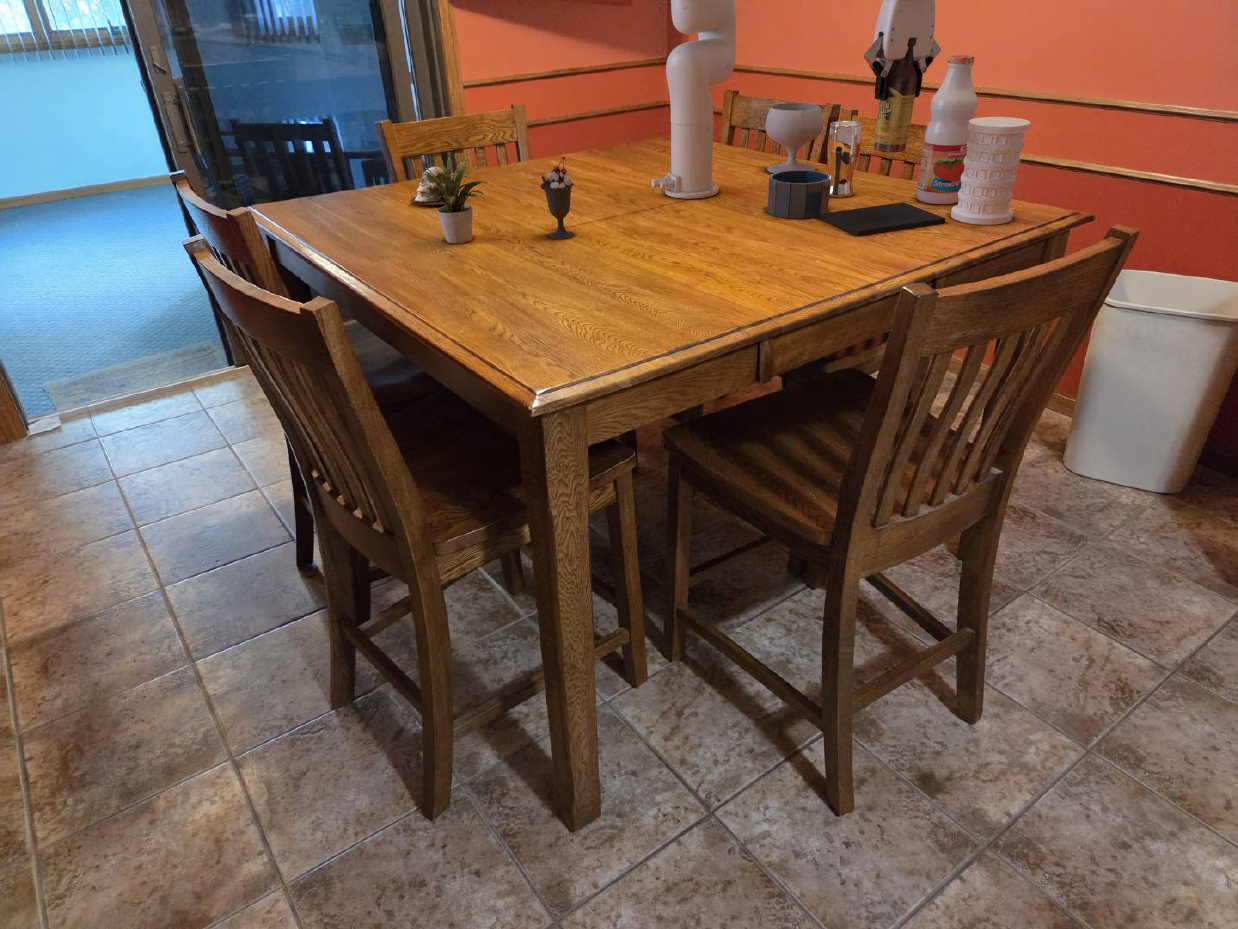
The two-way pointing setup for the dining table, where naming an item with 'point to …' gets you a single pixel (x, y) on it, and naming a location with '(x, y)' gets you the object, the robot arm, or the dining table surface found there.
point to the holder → (798, 194)
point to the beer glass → (843, 156)
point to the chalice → (793, 131)
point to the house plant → (454, 203)
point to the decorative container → (990, 170)
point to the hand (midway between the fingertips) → (896, 96)
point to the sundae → (558, 198)
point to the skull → (429, 189)
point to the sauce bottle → (897, 105)
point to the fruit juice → (947, 134)
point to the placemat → (881, 218)
